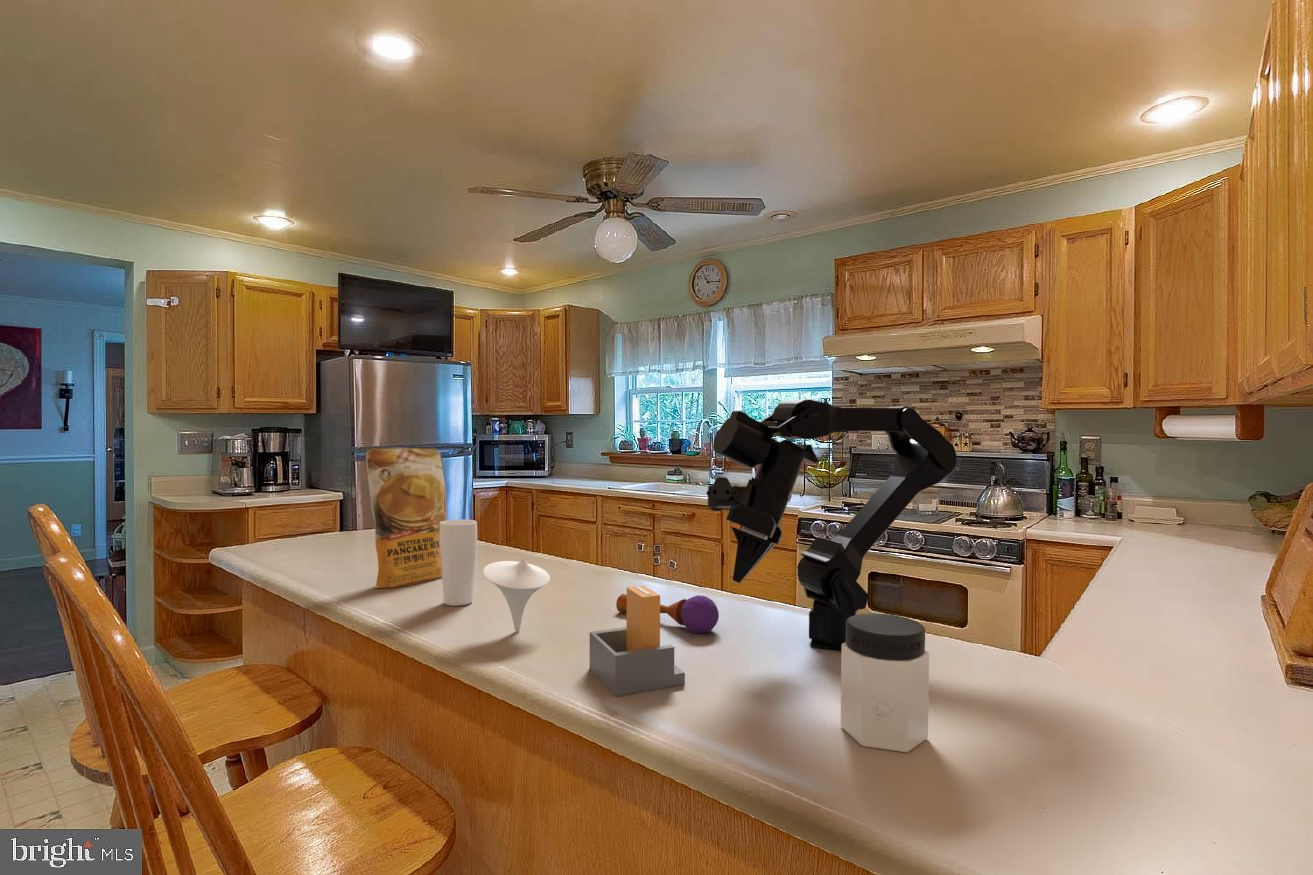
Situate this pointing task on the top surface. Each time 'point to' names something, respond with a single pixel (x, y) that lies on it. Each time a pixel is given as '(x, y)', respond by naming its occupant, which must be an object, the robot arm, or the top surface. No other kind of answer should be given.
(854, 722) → the jar
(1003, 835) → the top surface
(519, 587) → the white spinning top
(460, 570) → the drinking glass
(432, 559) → the pancake mix bag
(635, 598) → the breaker toggle
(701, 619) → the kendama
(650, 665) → the base
